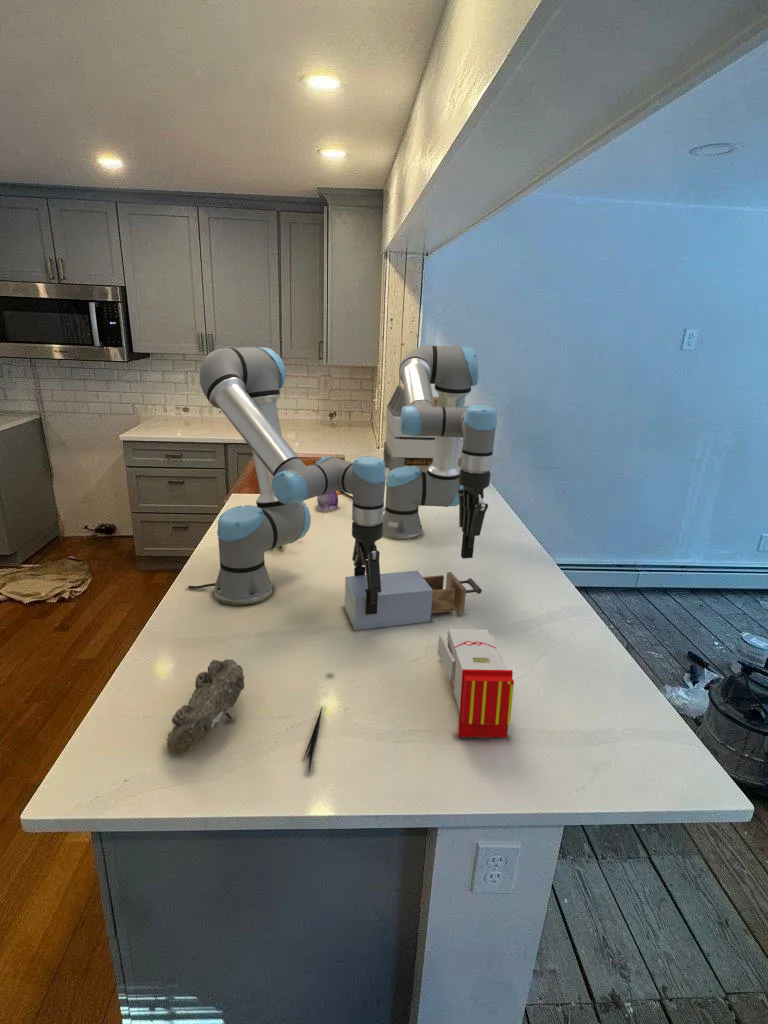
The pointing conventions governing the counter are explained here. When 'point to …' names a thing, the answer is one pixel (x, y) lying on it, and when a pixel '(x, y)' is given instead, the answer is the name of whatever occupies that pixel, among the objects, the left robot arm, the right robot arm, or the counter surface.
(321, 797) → the counter surface
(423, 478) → the right robot arm
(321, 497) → the figurine
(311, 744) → the feather
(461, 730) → the toy
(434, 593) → the drawer
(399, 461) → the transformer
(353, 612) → the cabinet
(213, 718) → the fossil
